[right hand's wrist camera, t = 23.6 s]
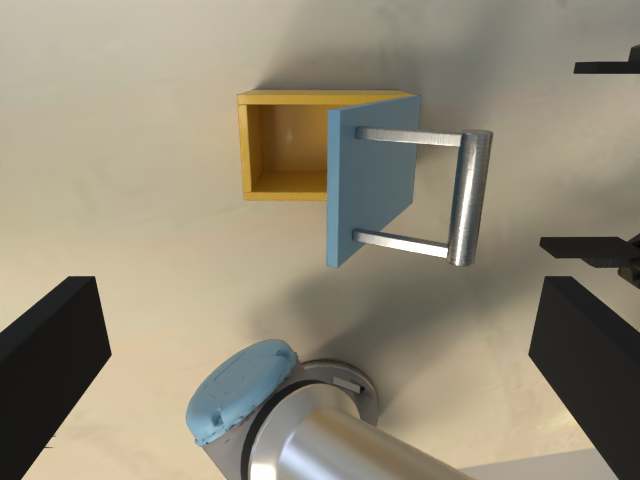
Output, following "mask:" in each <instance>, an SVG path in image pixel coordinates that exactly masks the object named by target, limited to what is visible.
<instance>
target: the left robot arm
mask: <svg viewBox="0 0 640 480" xmlns="http://www.w3.org/2000/svg"><path fill="white" fill-rule="evenodd" d="M573 74H640V45H637V46H634V47H632V48H631V51H630V55H629V59H628V62H576V63H575V68H574V73H573ZM539 246H541V247H542V248H543V249H544V250H546V251H547V252H548V253H550V254H551V255H552V256H554V257H555V258H581V259H582V260H583V261H585V262H586V263H588V264H589V265H590V266H593V267H595V268H607V267H608V268H619V269H618V275H619V276H620V277H622V278H623V279H625V280H626V281H628V282H629V283H631V284H632V285H634V286H635V287H637V288H638V289H640V234H638V235H637V236H635V237H634V238H632V239H631V240H629V241H628V242H626V241H624V240H622V239H620V238H619V237H541V239H540V244H539ZM378 415H379V404H378V398H377V393H376V390H375V388H374V386H373V384H372V382H371V381H370V380H369V378H368V377H367V376H366V375H365V374H364V373H362V372H361V371H360V370H358V369H357V368H355V367H353V366H351V365H348V364H346V363H342V362H338V361H332V360H318V361H312V362H307V363H304V364H301V363H300V362H299V360H298V356H297V353H296V352H294V351H293V350H292V349H291V348H290V346H289V345H288V344H287V343H286V342H284V341H282V340H277V339H270V340H265V341H261V342H258V343H256V344H253V345H251V346H249V347H247V348H245V349H243V350H241V351H239V352H238V353H236V354H235V355H233V356H232V357H230V358H229V359H228V360H226V361H225V362H224V363H222V364H221V365H220V366H219V367H218V368H216V369H215V370H214V371H213V372H212V373H211V374H210V375H209V376H208V377H207V378H206V379H205V380H204V382H203V383H202V384H201V385H200V386H199V388H198V389H197V390H196V392H195V394H194V395H193V397H192V398H191V400H190V402H189V405H188V408H187V411H186V423H187V426H188V428H189V429H190V431H191V433H192V434H193V436H194V437H195V443H196V444H197V445H198V446H201V447H202V448H203V449H204V450H205V452H206V453H207V454H208V456H209V457H210V458H211V460H212V461H213V462H214V463H215V465H216V466H217V467H218V469H219V470H220V471H221V473H222V474H223V475H224V476H225V478H226V479H227V480H477V479H475V478H473V477H472V476H470V475H468V474H466V473H464V472H462V471H460V470H458V469H456V468H454V467H452V466H450V465H448V464H446V463H444V462H442V461H440V460H438V459H436V458H434V457H433V456H431V455H429V454H427V453H425V452H423V451H421V450H419V449H417V448H415V447H413V446H411V445H409V444H407V443H405V442H403V441H401V440H399V439H397V438H396V437H394V436H392V435H390V434H388V433H386V432H384V431H382V430H380V429H378V428H376V425H377V421H378Z"/></svg>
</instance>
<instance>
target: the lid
mask: <svg viewBox="0 0 640 480" xmlns="http://www.w3.org/2000/svg"><path fill="white" fill-rule="evenodd" d="M420 106H421V96H419V95H412V96H406V97H400V98H394V99H388V100H383V101H377V102H371V103H365V104H359V105H353V106H347V107H341V108H336V109H330V110H328V161H327V266H330V267H335V268H338V267H339V266H340V265H342V264H343V263H344V262H345V261H346V260H347V259H348V258H350V257H351V256H352V255H353V254H354V253H355V252H356V251H358V250H359V249H360V248H361V247H362V246H363V245H364V244H366V243H369V244H374V245H380V246H385V247H390V248H395V249H401V250H406V251H411V252H416V253H422V254H427V255H432V256H438V257H443V258H446V260H447V262H448V263H450V264H453V265H456V266H471V265H473V264H474V262H475V255H476V248H477V242H478V235H479V228H480V221H481V214H482V208H483V201H484V194H485V187H486V180H487V174H488V167H489V160H490V153H491V146H492V140H493V132H491V131H488V130H476V129H469V130H463V131H461V132H447V131H432V130H419V118H420ZM417 144H429V145H442V146H454V147H459V153H458V161H457V169H456V178H455V186H454V194H453V203H452V211H451V219H450V228H449V236H448V244H445V243H440V242H434V241H428V240H423V239H417V238H411V237H406V236H400V235H394V234H388V233H383V232H379V231H381V230H382V229H383V228H384V227H385V226H386V225H387V224H389V223H390V222H391V221H392V220H393V219H394V218H395V217H397V216H398V215H399V214H400V213H401V212H402V211H403V210H405V209H406V208H407V207H408V206H409V205H410V204H412V201H413V189H414V178H415V166H416V154H417Z"/></svg>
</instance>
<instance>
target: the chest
mask: <svg viewBox="0 0 640 480" xmlns="http://www.w3.org/2000/svg"><path fill="white" fill-rule="evenodd" d="M412 95H413V94H409V93H406V92H402V91H399V90H265V89H253V90H251V91H248V92H244V93H241V94H238V95H237V103H238V118H239V134H240V149H241V164H242V180H243V195H244V200H297V201H327V161H328V110H330V109H336V108H341V107H347V106H353V105H359V104H365V103H371V102H377V101H383V100H388V99H394V98H400V97H406V96H412Z"/></svg>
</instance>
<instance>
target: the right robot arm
mask: <svg viewBox="0 0 640 480" xmlns="http://www.w3.org/2000/svg"><path fill="white" fill-rule="evenodd" d="M111 355H112V354H111V349H110V344H109V340H108V335H107V330H106V326H105V321H104V316H103V312H102V307H101V302H100V298H99V293H98V288H97V284H96V279H95V276H69V277H67V278H66V279H65V280H64V281H62V282H61V283H60V284H59V285H58V286H56V287H55V288H54V289H53V290H52V291H50V292H49V293H48V294H47V295H46V296H44V297H43V298H42V299H41V300H39V301H38V302H37V303H36V304H35V305H33V306H32V307H31V308H30V309H29V310H27V311H26V312H25V313H24V314H22V315H21V316H20V317H19V318H18V319H16V320H15V321H14V322H13V323H12V324H10V325H9V326H8V327H7V328H6V329H4V330H3V331H2V332H1V333H0V480H21V479H22V478H23V476H24V475H25V473H26V472H27V471H28V469H29V468H30V467H31V465H32V464H33V462H34V461H35V460H36V458H37V457H38V456H39V454H40V453H41V452H42V450H43V449H44V447H45V446H46V445H47V443H48V442H49V441H50V439H51V438H52V436H53V435H54V434H55V432H56V431H57V430H58V428H59V427H60V425H61V424H62V423H63V421H64V420H65V419H66V417H67V416H68V414H69V413H70V412H71V410H72V409H73V408H74V406H75V405H76V403H77V402H78V401H79V399H80V398H81V397H82V395H83V394H84V392H85V391H86V390H87V388H88V387H89V386H90V384H91V383H92V381H93V380H94V379H95V377H96V376H97V375H98V373H99V372H100V370H101V369H102V368H103V366H104V365H105V364H106V362H107V361H108V359H109V358H110V357H111ZM528 355H529V357H530V358H531V359H532V361H533V362H534V364H535V365H536V366H537V368H538V369H539V370H540V372H541V373H542V375H543V376H544V377H545V379H546V380H547V381H548V383H549V384H550V386H551V387H552V388H553V390H554V391H555V392H556V394H557V395H558V397H559V398H560V399H561V401H562V402H563V403H564V405H565V406H566V408H567V409H568V410H569V412H570V413H571V414H572V416H573V417H574V419H575V420H576V421H577V423H578V424H579V425H580V427H581V428H582V430H583V431H584V432H585V434H586V435H587V436H588V438H589V439H590V441H591V442H592V443H593V445H594V446H595V447H596V449H597V450H598V451H599V453H600V454H601V456H602V457H603V458H604V460H605V461H606V462H607V464H608V465H609V467H610V468H611V469H612V471H613V472H614V473H615V475H616V476H617V478H618V479H619V480H640V333H639V332H638V331H637V330H636V329H634V328H633V327H632V326H631V325H630V324H628V323H627V322H626V321H625V320H624V319H622V318H621V317H620V316H619V315H618V314H616V313H615V312H614V311H613V310H611V309H610V308H609V307H608V306H607V305H605V304H604V303H603V302H602V301H601V300H599V299H598V298H597V297H596V296H594V295H593V294H592V293H591V292H590V291H588V290H587V289H586V288H585V287H584V286H582V285H581V284H580V283H579V282H578V281H576V280H575V279H574V278H573V277H571V276H545V279H544V284H543V288H542V293H541V298H540V302H539V307H538V312H537V316H536V321H535V326H534V330H533V335H532V340H531V344H530V349H529V354H528Z"/></svg>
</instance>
